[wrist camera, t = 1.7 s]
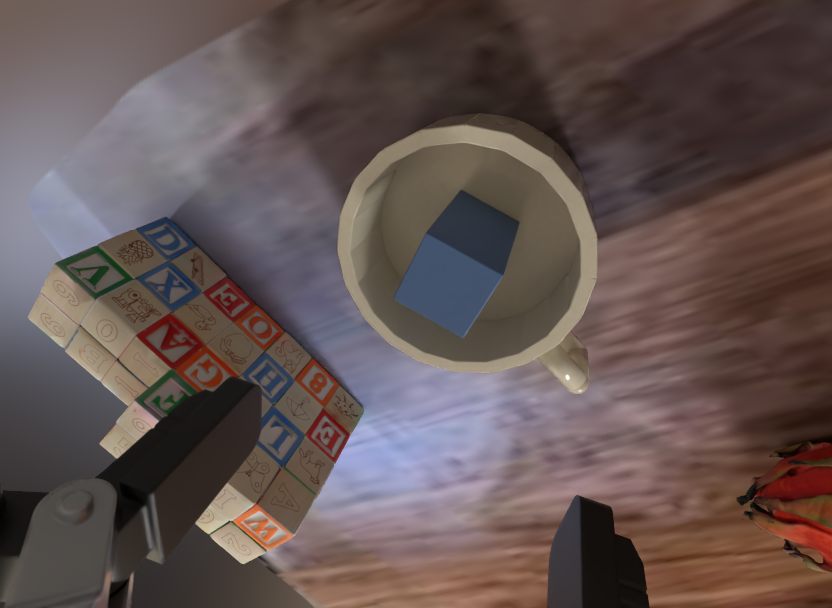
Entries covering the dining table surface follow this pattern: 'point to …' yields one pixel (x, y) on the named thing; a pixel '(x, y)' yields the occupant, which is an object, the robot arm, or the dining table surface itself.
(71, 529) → the robot arm
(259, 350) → the stack of blocks
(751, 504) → the dragon fruit
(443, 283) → the block
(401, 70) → the dining table surface
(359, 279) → the mug
